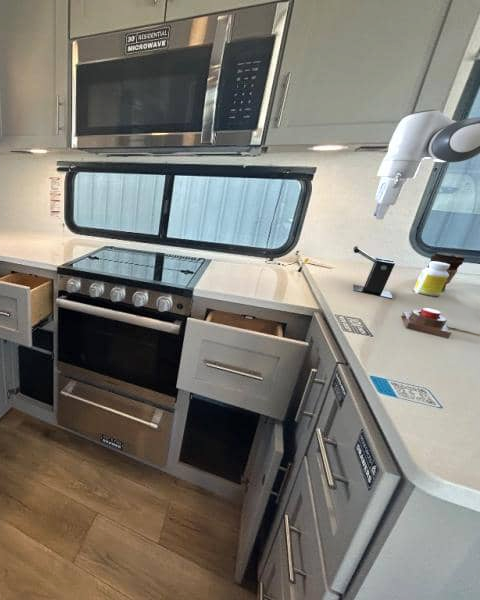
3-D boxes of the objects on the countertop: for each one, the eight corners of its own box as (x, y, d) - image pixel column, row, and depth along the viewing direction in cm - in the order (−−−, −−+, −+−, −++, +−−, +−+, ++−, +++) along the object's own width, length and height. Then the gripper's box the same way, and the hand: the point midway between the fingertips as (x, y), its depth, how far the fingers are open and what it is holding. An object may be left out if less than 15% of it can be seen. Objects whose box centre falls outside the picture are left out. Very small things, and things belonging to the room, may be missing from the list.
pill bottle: (441, 300, 109) (459, 267, 104) (417, 297, 111) (433, 264, 106) (430, 294, 115) (446, 262, 110) (407, 290, 117) (422, 259, 112)
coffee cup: (454, 295, 115) (474, 259, 110) (425, 291, 118) (443, 255, 113) (438, 287, 123) (456, 253, 118) (411, 283, 125) (427, 250, 120)
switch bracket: (352, 293, 111) (366, 259, 106) (352, 287, 117) (365, 255, 112) (391, 301, 105) (407, 266, 101) (388, 294, 111) (404, 261, 107)
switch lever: (351, 252, 109) (357, 246, 108) (351, 249, 113) (357, 244, 111) (384, 272, 106) (391, 267, 104) (383, 269, 109) (390, 264, 108)
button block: (401, 316, 94) (406, 305, 93) (439, 325, 90) (445, 313, 89) (405, 328, 87) (411, 316, 86) (448, 338, 83) (455, 326, 81)
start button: (418, 312, 90) (421, 306, 89) (436, 316, 88) (439, 310, 87) (420, 316, 87) (423, 310, 86) (439, 320, 85) (442, 314, 84)
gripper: (416, 172, 90) (393, 222, 96) (406, 172, 106) (387, 216, 111) (386, 170, 94) (366, 219, 99) (381, 171, 109) (363, 213, 114)
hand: (377, 217), depth 105 cm, fingers open, 8 cm apart
